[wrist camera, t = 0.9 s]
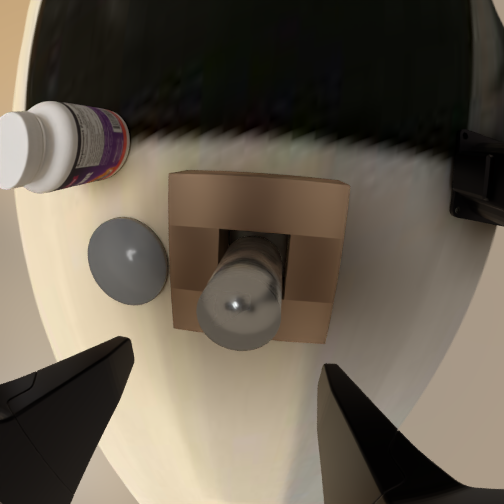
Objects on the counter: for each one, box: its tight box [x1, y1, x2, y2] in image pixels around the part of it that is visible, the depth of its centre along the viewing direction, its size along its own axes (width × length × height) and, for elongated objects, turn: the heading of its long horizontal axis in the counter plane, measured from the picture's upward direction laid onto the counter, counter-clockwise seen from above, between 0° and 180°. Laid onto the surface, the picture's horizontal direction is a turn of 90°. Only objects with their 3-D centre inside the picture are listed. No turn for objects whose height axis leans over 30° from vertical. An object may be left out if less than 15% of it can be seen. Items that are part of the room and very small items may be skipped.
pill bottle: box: [0, 101, 130, 193], centre depth 15 cm, size 5×5×10 cm
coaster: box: [88, 217, 168, 305], centre depth 22 cm, size 7×7×1 cm
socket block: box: [168, 170, 350, 344], centre depth 19 cm, size 10×10×4 cm
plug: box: [196, 236, 282, 351], centre depth 15 cm, size 3×3×6 cm
